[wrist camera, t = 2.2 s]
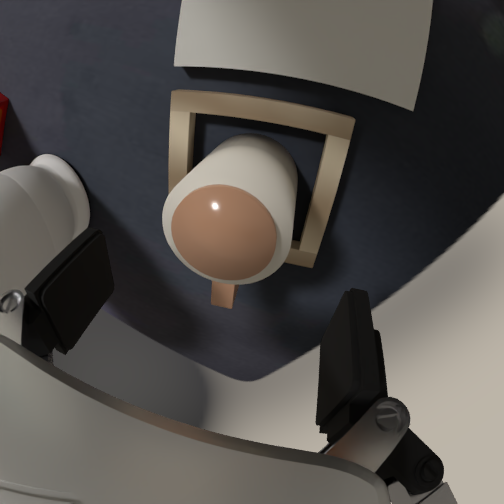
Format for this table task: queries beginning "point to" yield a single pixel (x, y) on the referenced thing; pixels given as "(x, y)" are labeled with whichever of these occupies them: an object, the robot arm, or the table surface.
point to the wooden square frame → (273, 112)
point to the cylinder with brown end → (234, 214)
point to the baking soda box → (2, 115)
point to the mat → (313, 41)
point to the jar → (38, 217)
